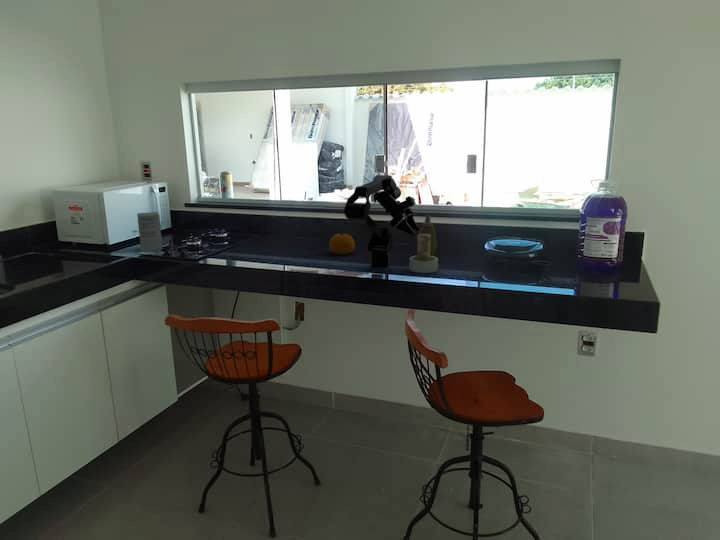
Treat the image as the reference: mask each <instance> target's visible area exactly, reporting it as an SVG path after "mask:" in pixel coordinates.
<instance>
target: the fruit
mask: <svg viewBox="0 0 720 540" xmlns="http://www.w3.org/2000/svg"><path fill="white" fill-rule="evenodd" d="M328 247H329V251H330V252H332V254H335V255H340V256H341V255H349V254H351V253H353V251H354V250H355V247H356V243H355V240H354V238H353V237H352V236H351V235H350V234H348V233H343V231H341V233H336V234H333V236H331V238H330V239H329V242H328Z"/></svg>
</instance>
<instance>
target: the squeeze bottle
mask: <svg viewBox="0 0 720 540" xmlns="http://www.w3.org/2000/svg"><path fill="white" fill-rule="evenodd" d="M430 217H431V216H430V213H426V214H425V219H424V221H423V222H422V223H421V224H422V225H421V227H419V234H429V235H431V238H430V256H434V255H435V252H436V249H437V238H436V228H435V227H434V222H431V218H430Z"/></svg>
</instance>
